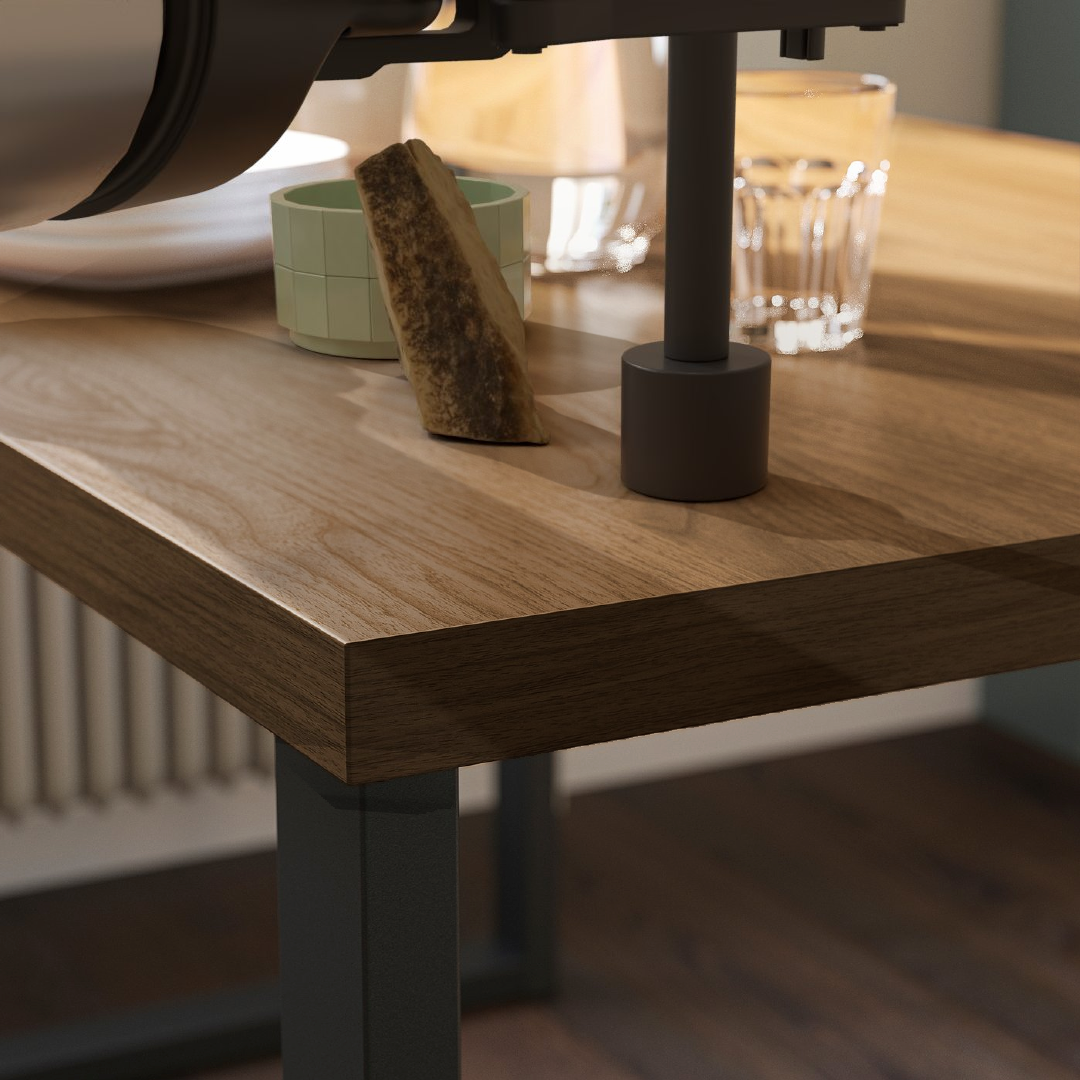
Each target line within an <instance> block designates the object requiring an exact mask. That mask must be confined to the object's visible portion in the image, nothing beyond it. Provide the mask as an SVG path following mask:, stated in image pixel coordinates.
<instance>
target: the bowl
mask: <svg viewBox="0 0 1080 1080" xmlns="http://www.w3.org/2000/svg"><path fill="white" fill-rule="evenodd" d="M455 177H456V180H457V185H458V187H459V188H460V189H461V190H462V191H463V193H464V195H465V197H466V199H467V200H468V202H469V203H470V206H471V208H472V210H473V213H474V216H475V220H476V225H477V228H478V230H479V232H480V235H481V237H482V239H483V241H484V242H485V244H486V246H487V248H488V249H489V251H490V252H491V254H492V255H493V256H494V257H495V258H496V260H497V262H498V265H499V268H500V272H501V274H502V275H503V277H504V279H505V281H506V283H507V287H508V289H509V291H510V292H511V294H512V295H513V297H514V299H515V301H516V303H517V306H518V309H519V312H520V315H521V317H522V320H523V323H524V322H525V321H526V320H527V318H528V317H529V316H530V315H531V313H532V254H531V250H532V241H531V240H532V237H531V234H532V233H531V223H532V222H531V191H530V190H529V189H528V188H526V187H525V186H524V185H522V184H518V183H514V182H510V181H506V180H501V179H492V178H483V177H474V176H461V175H460V176H459V175H455ZM268 201H269V203H268V204H269V218H270V234H271V235H270V237H271V250H272V251H271V252H272V269H273V270H272V271H273V284H274V285H273V286H274V287H273V288H274V305H275V316H276V321H277V325H279V326H280V327H283V328H285V329H287V330H288V334H289V339H290V340H291V342H292V343H293V344H294V345H296V346H298V347H300V348H303V349H305V350H308V351H311V352H315V353H319V354H324V355H330V356H337V357H344V358H354V359H367V360H369V359H371V360H399V358H398V355H397V351H396V347H395V344H396V340H395V337H394V335H393V334H392V332H391V330H390V327H389V322H388V319H387V315H386V311H385V305H384V302H383V295H382V291H381V287H380V283H379V279H378V274H377V271H376V268H375V261H374V257H373V255H372V253H371V249H370V243H369V239H368V234H367V229H366V225H365V220H364V216H363V213H362V204H361V200H360V198H359V195H358V190H357V185H356V180H355V177H354V176H353V177H346V178H345V177H342V178H334V179H324V180H317V181H309V182H304V183H297V184H295V185H290V186H285V187H281V188H280V189H277V190H276V191H273V192H272V193H269V194H268Z"/></svg>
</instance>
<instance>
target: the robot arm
mask: <svg viewBox="0 0 1080 1080" xmlns="http://www.w3.org/2000/svg"><path fill="white" fill-rule="evenodd" d="M443 2H444V0H0V233H3V232H9V231H11V230H12V231H13V230H18V229H23V228H26V227H30V226H36V225H38V224H41V223H44V222H45V221H49V222H50V221H51V222H52V221H59V222H61V221H64V222H65V221H72V220H78V219H79V220H80V219H85V218H90V217H95V216H101V215H104V214H105V215H106V214H110V213H114V212H115V213H116V212H119V211H124V210H128V209H133V208H139V207H142V206H148V205H152V204H156V203H161V202H166V201H171V200H175V199H179V198H184V197H185V198H186V197H189V196H195V195H198V194H202V193H204V192H207V191H211V190H213V189H216V188H218V187H220V186H222V185H225V184H227V183H229V182H230V181H232V180H233V179H235V178H237V177H239V176H241V175H243V174H244V173H245V172H246V171H248V170H249V169H251V168H252V167H253V166H255V165H256V164H257V163H258V162H259V161H260V160H261V159H262V158H264V157H265V156H266V155H267V154H268V153H269V151H270V150H271V149H272V148H273V147H274V146H275V145H276V144H277V143H278V142H279V141H280V139H281V138H282V137H283V136H284V134H285V133H286V132H287V130H288V129H289V127H290V126H291V124H292V123H293V121H294V120H295V119H296V118H297V117H296V116H297V115H298V114H299V112H300V110H301V108H302V106H303V104H304V102H305V100H306V98H307V96H308V94H309V92H310V90H311V88H312V87H313V84H314V83H315V82H327V81H328V82H329V81H330V82H331V81H332V82H333V81H352V80H353V81H354V80H363V79H367V78H371V77H372V76H374V75H375V74H376V73H377V72H378V71H379V70H381V69H382V68H383V67H385V66H388V65H392V64H393V65H395V64H396V65H397V64H419V63H420V64H421V63H423V64H424V63H444V62H445V63H446V62H447V63H448V62H475V61H493V60H497V59H502V58H503V57H505V56H506V55H507V54H508V53H510V52H511V54H512V55H540V54H543V49H548V47H551V46H562V45H572V44H580V43H591V42H601V41H609V40H624V39H625V40H627V39H641V38H645V39H646V38H659V37H668V36H681V35H699V34H718V33H736V32H738V33H751V32H770V31H779V32H780V33H779V34H780V35H779V58H786V59H791V60H798V61H799V60H800V61H805V60H806V61H808V62H813V61H823V60H825V49H826V28H841V27H855V28H859V31H860V32H885V31H886V30H887V29H886V28H888V27H889V28H890V27H892V28H893V27H896V28H897V27H899V25H900V24H904V23H906V7H907V6H906V5H907V0H455V13H454V17H453V20H452V22H451V23H450V24H449V25H448V26H447V27H445V28H442V29H441V28H440V29H427V28H428V27H429V26H431V25H433V23H434V22H435V20H437V17H438V16H439V14H440V12H441V9H442V6H443Z"/></svg>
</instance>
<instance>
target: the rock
mask: <svg viewBox="0 0 1080 1080" xmlns="http://www.w3.org/2000/svg"><path fill="white" fill-rule="evenodd" d="M455 176H456V175H455V172H454V170H453V169H452V168H449V167H447V166H446V165H445V163H443V160H442V158H441V156H440V155H438V154H435V153H434V152H433V151H432V149H431V148H430V146H429V145H427V143H426V142H425V141H424V140H422V139H420V138H409V139H407V140H406V141H405V142H404V143H403V142H395V143H392V144H391V145H388V146H387V147H386V148H383V149H382V150H381V151H380V152H377V153H375V154H372V155H370V156H369V157H368V158H366V159H365V160H363V161H362V162H361V163H359V164H358V165H356V166H354V167H353V178H354V177H355V180H356V185H357V190H358V195H359V198H360V200H361V204H362V213H363V216H364V220H365V225H366V229H367V234H368V239H369V243H370V249H371V253H372V255H373V257H374V261H375V268H376V271H377V274H378V279H379V283H380V287H381V291H382V295H383V302H384V305H385V311H386V315H387V319H388V322H389V327H390V330H391V332H392V334H393V335H394V337H395V340H396V344H395V347H396V351H397V355H398V358H399V359H398V362H399V364H400V367H401V370H402V372H403V374H404V376H405V378H406V379H407V381H408V382H409V384H410V387H411V389H412V391H413V393H414V396H415V399H416V405H417V408H416V409H417V411H418V417H419V422H420V427H421V428H422V429H423V430H425V431H427V432H428V433H430V434H433V435H434V434H435V435H443V436H446V437H457V438H461V439H462V438H467V439H471V440H473V441H480V442H481V441H482V442H493V443H516V444H518V443H525V442H526V443H534V444H539V445H544V444H546V443H549V441H550V440H551V433H550V432H549V431H548V430H546V429H545V428H544V427H543V425H542V423H541V421H540V419H539V414H538V413H537V412H538V409H537V407H536V401H535V394H534V386H533V382H532V381H531V378H530V377H529V374H528V367H529V366H528V365H529V362H528V358H527V356H526V347H525V346H526V332H525V324H524V322H523V320H522V317H521V315H520V312H519V309H518V306H517V303H516V301H515V299H514V297H513V295H512V294H511V292H510V291H509V289H508V287H507V283H506V281H505V279H504V277H503V275H502V274H501V272H500V268H499V265H498V262H497V260H496V258H495V257H494V256H493V255H492V254H491V252H490V251H489V249H488V248H487V246H486V244H485V242H484V241H483V239H482V237H481V235H480V232H479V230H478V228H477V225H476V220H475V216H474V213H473V210H472V208H471V206H470V203H469V202H468V200H467V199H466V197H465V195H464V193H463V191H462V190H461V189H460V188H459V187H458V185H457V180H456V177H455Z"/></svg>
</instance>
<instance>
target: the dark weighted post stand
mask: <svg viewBox="0 0 1080 1080" xmlns="http://www.w3.org/2000/svg"><path fill="white" fill-rule="evenodd" d="M738 35H739V32H736V33H718V34H699V35H681V36H667V38H668V39H667V97H666V98H667V101H666V104H667V105H666V113H667V114H666V161H665V163H666V165H665V168H666V170H665V173H666V174H665V175H666V176H665V232H664V234H665V237H664V239H665V243H664V297H663V298H664V303H663V304H664V306H663V310H664V311H663V340H657V341H652V342H646V343H642V344H638V345H635V346H633V347H630V348H628V349H626V350H624V352H623V353H622V355H621V358H620V366H621V367H620V480H621V482H622V483H623V485H625V487H626V488H628V489H630V490H632V491H634V492H636V493H639V494H642V495H645V496H650V497H653V498H657V499H658V498H659V499H664V500H671V501H680V502H681V501H682V502H712V501H723V500H730V499H731V500H732V499H736V498H740V497H745V496H747V495H748V496H749V495H751V494H754V493H756V492H758V491H760V490H761V489H762V488H763V487H765V485H766V484H767V481H768V473H769V445H770V444H769V443H770V441H769V440H770V414H771V390H772V389H771V388H772V387H771V386H772V385H771V384H772V360H773V359H772V356H771V354H770V353H769V352H767V351H766V350H764V349H762V348H760V347H757V346H754V345H751V344H747V343H741V342H736V341H731V340H730V335H731V334H730V332H731V331H730V329H731V294H732V260H733V259H732V258H733V256H732V255H733V225H734V224H733V223H734V222H733V221H734V219H733V218H734V217H733V216H734V189H735V188H734V184H735V183H734V182H735V151H736V150H735V147H736V146H735V145H736V111H737V76H738V75H737V74H738V72H737V71H738V37H739V36H738Z"/></svg>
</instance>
